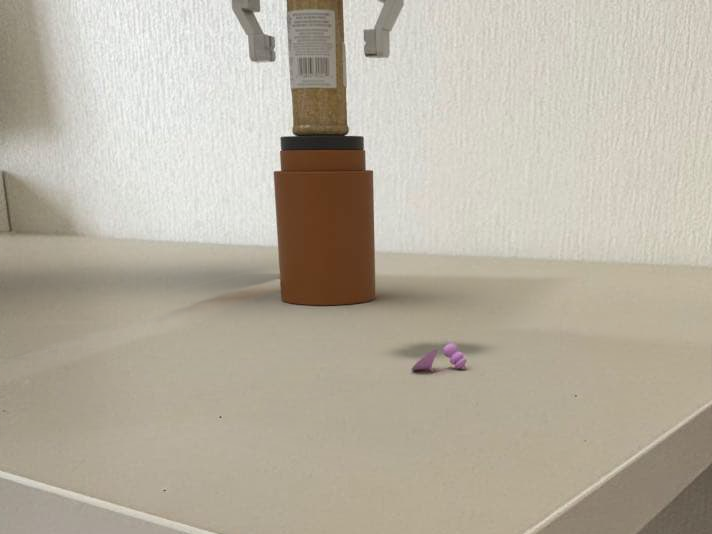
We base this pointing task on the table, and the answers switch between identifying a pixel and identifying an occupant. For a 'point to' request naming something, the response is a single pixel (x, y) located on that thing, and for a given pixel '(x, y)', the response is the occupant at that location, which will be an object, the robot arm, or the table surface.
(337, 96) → the sprinkles bottle
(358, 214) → the amber bottle
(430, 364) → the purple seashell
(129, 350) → the table surface
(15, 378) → the table surface
